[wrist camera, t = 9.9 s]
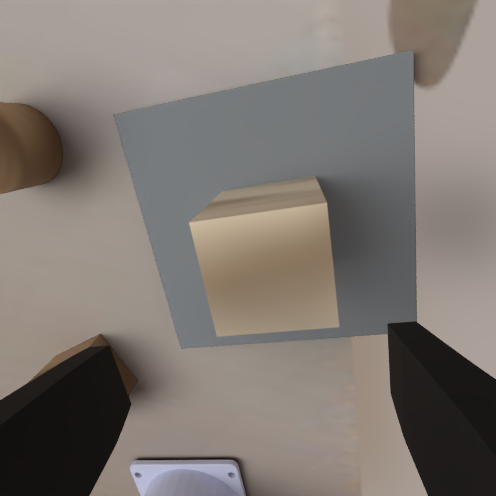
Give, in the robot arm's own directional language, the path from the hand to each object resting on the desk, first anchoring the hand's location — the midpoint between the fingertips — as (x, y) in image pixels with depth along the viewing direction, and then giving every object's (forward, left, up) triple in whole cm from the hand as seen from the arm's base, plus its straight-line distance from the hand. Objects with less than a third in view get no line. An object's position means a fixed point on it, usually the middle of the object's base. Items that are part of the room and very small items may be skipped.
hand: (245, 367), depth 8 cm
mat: (+1, 0, -9) cm, 9 cm away
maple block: (+1, -1, -9) cm, 9 cm away
